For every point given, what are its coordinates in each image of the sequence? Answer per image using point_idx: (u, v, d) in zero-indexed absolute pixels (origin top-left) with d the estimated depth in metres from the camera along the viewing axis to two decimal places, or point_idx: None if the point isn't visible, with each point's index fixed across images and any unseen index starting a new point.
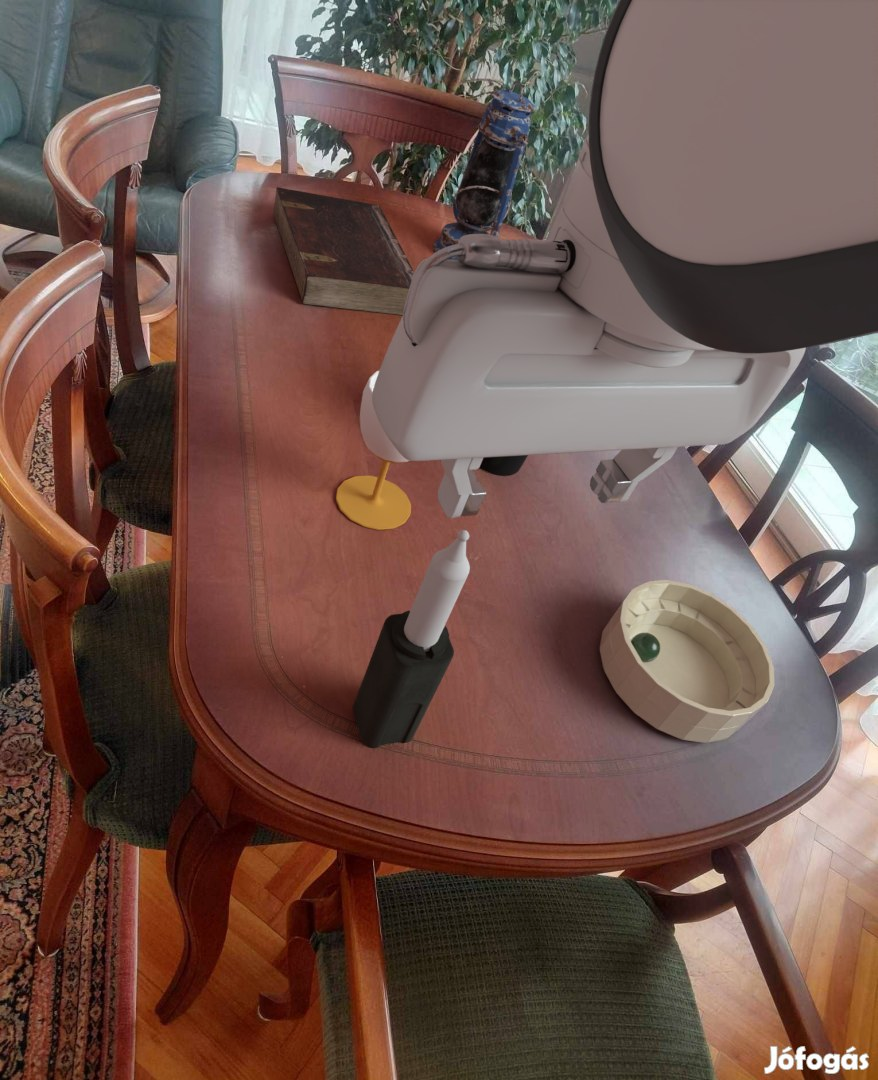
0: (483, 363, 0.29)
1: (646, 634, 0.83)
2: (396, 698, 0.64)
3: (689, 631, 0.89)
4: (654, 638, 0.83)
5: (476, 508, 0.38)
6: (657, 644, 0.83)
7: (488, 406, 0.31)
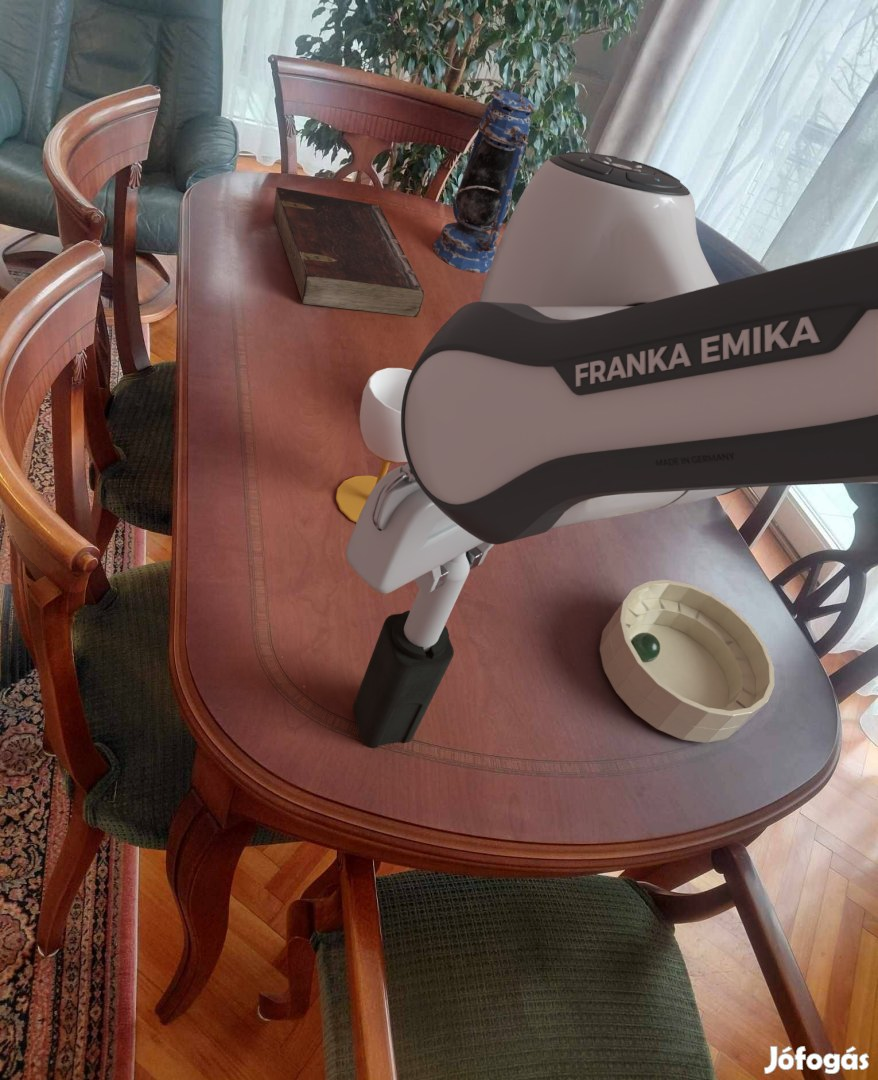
0: (426, 531, 0.45)
1: (646, 634, 0.83)
2: (396, 698, 0.64)
3: (689, 631, 0.89)
4: (654, 638, 0.83)
5: (442, 582, 0.56)
6: (657, 644, 0.83)
7: (429, 549, 0.47)
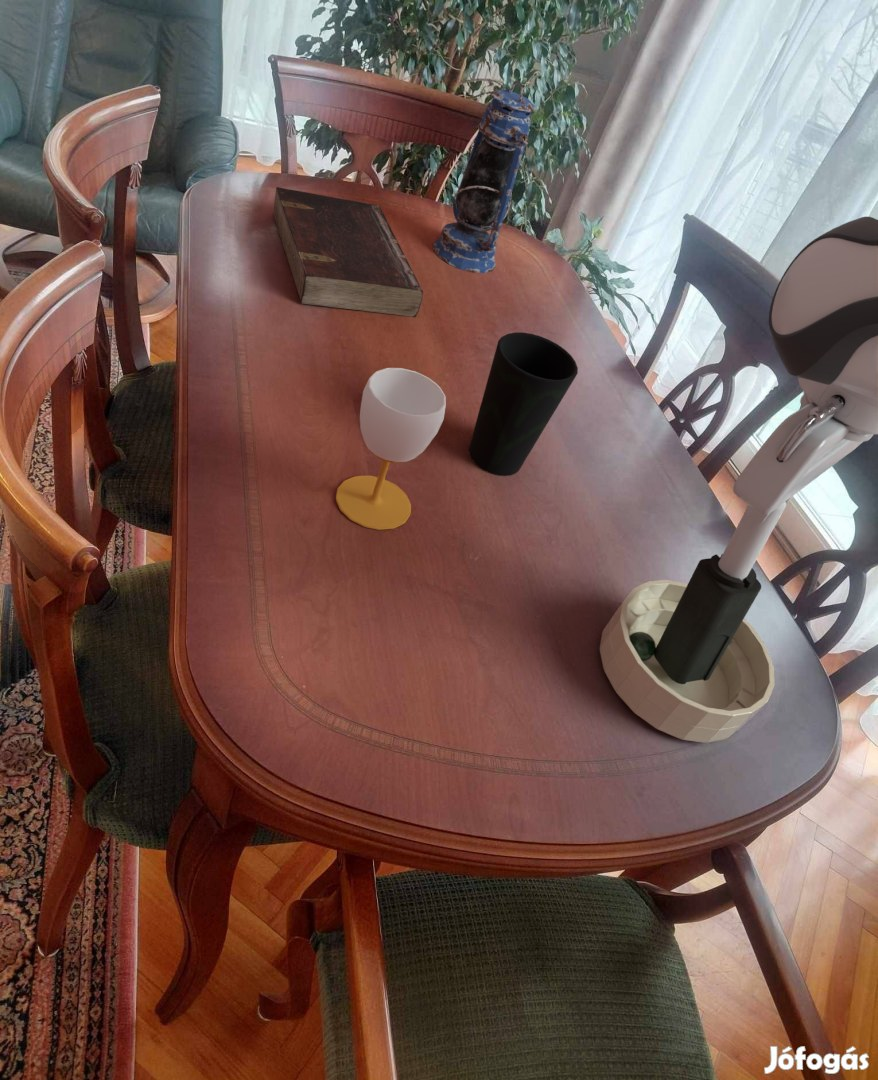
0: (813, 463, 0.59)
1: (637, 633, 0.83)
2: (713, 628, 0.76)
3: None
4: (645, 636, 0.83)
5: (769, 514, 0.70)
6: (649, 642, 0.83)
7: (802, 479, 0.61)
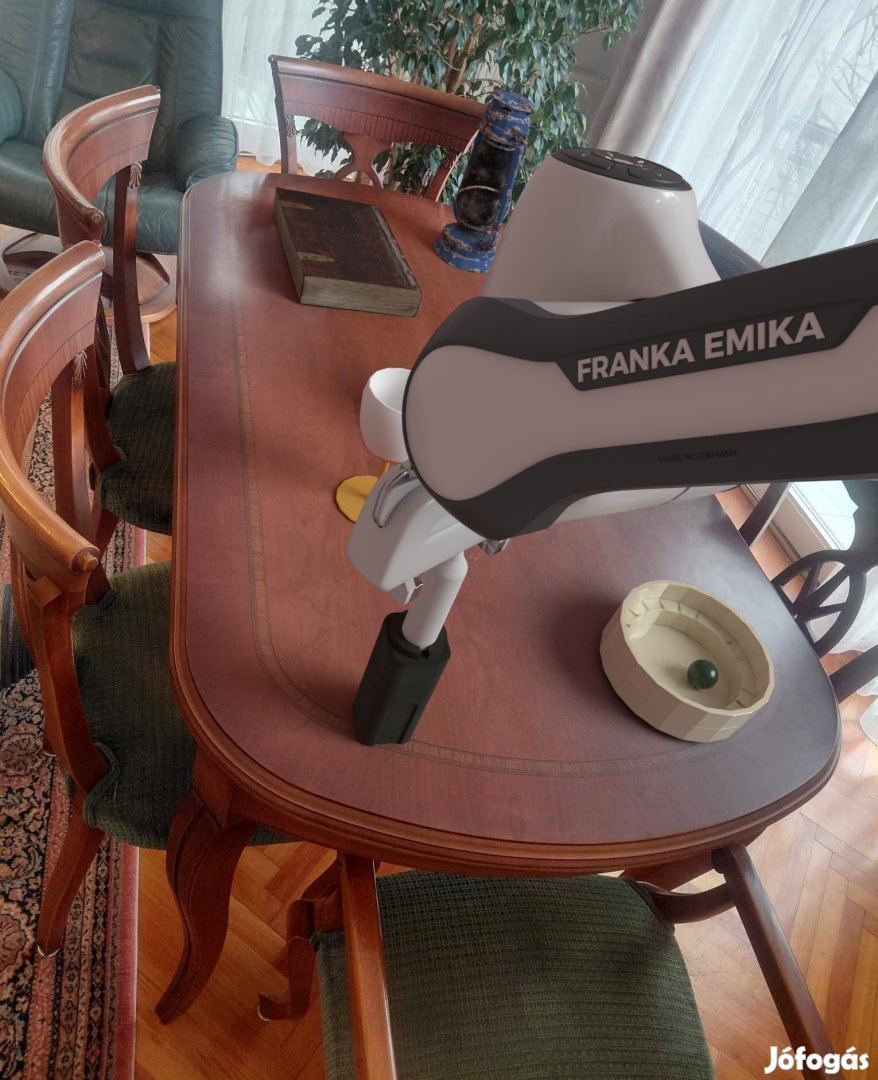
0: (427, 528, 0.45)
1: None
2: (391, 696, 0.64)
3: (689, 631, 0.89)
4: (687, 670, 0.84)
5: (417, 594, 0.54)
6: (690, 671, 0.83)
7: (429, 546, 0.47)
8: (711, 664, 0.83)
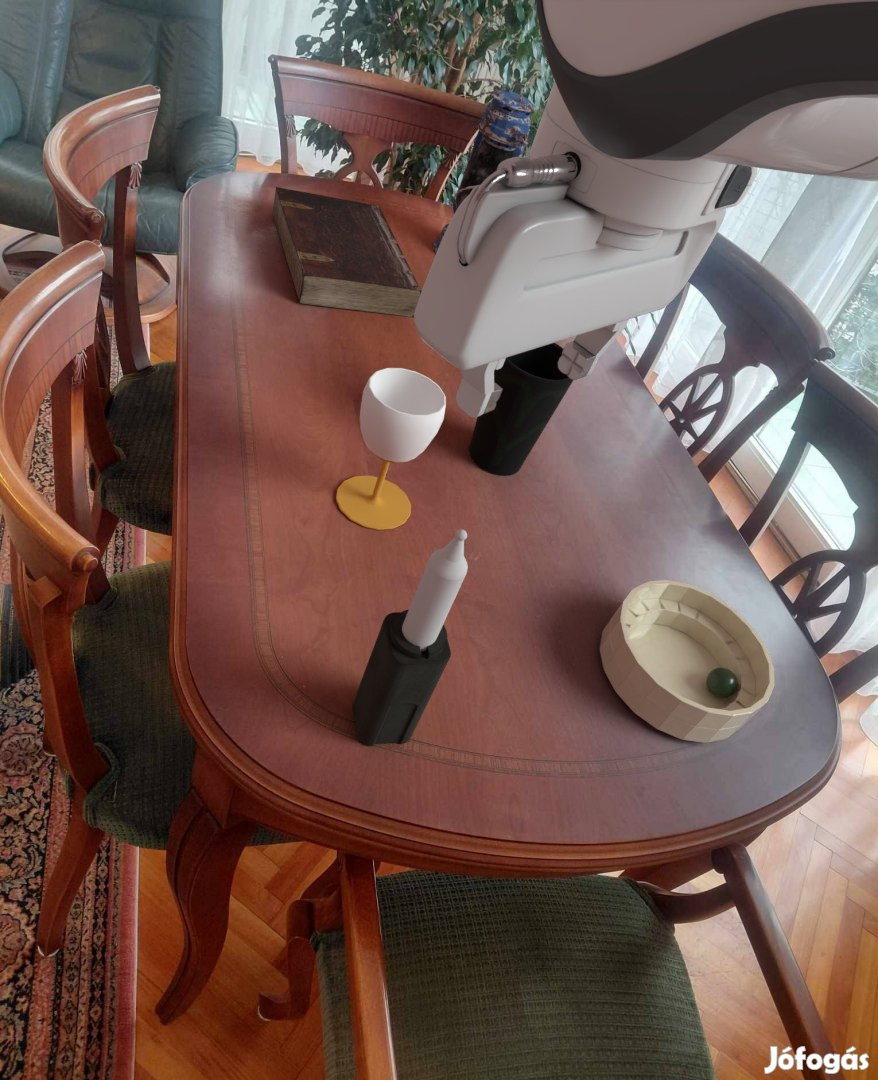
0: (525, 270, 0.34)
1: (714, 671, 0.83)
2: (391, 696, 0.64)
3: (689, 631, 0.89)
4: (722, 672, 0.83)
5: (494, 404, 0.43)
6: (727, 677, 0.82)
7: (523, 308, 0.36)
8: None
